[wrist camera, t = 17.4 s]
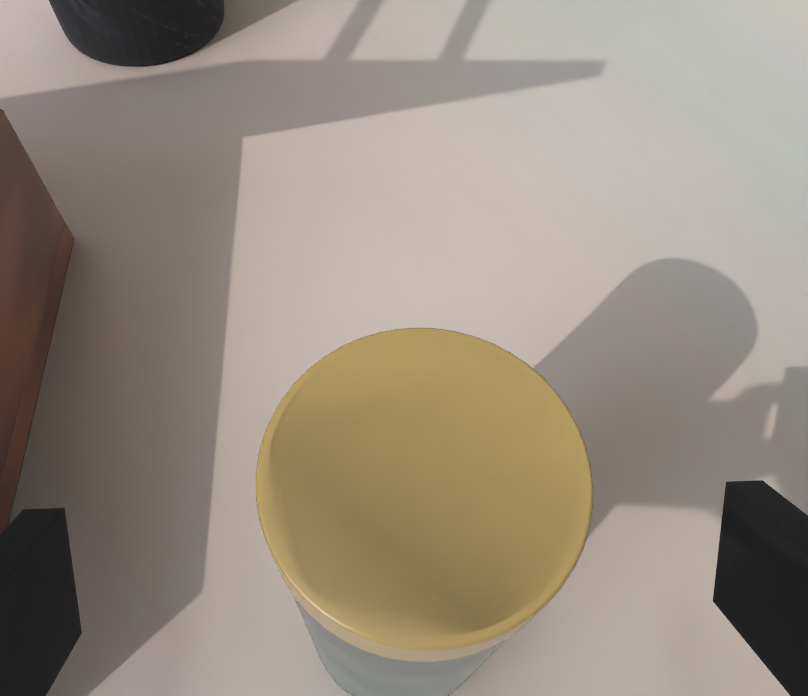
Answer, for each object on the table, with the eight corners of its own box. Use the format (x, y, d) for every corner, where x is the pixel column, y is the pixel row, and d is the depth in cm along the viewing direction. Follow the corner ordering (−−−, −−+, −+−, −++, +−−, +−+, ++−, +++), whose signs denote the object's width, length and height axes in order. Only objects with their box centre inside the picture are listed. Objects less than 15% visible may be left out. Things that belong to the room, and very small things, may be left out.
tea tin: (497, 708, 19) (625, 641, 9) (308, 718, 19) (244, 658, 9) (478, 523, 21) (564, 323, 12) (311, 529, 21) (263, 329, 12)
